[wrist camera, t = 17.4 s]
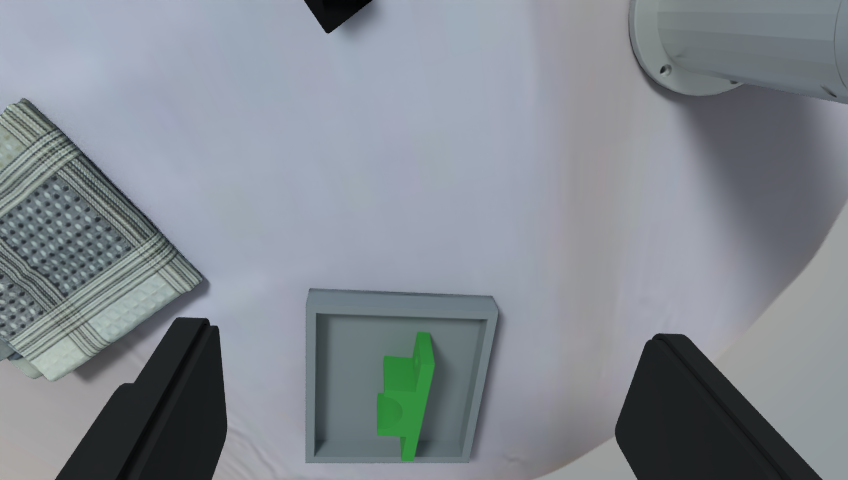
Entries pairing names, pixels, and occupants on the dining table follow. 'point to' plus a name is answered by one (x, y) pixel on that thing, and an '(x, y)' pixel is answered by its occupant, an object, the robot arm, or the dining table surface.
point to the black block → (334, 11)
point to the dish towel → (71, 252)
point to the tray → (363, 371)
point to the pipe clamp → (406, 395)
